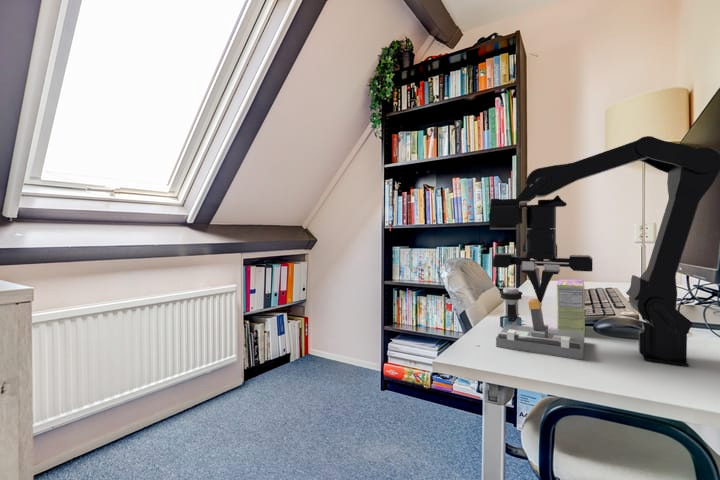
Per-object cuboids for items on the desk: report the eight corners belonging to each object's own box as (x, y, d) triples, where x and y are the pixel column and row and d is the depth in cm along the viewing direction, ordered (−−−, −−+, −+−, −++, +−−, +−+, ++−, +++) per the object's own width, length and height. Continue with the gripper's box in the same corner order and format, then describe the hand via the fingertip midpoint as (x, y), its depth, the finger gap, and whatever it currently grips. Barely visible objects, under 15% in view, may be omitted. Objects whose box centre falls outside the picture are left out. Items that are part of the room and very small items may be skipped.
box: (558, 323, 96) (558, 278, 96) (584, 326, 93) (584, 279, 93) (556, 334, 87) (556, 284, 87) (584, 337, 84) (584, 286, 84)
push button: (519, 323, 97) (519, 286, 96) (531, 329, 91) (531, 289, 91) (496, 325, 96) (495, 287, 95) (506, 331, 90) (506, 290, 90)
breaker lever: (546, 330, 80) (540, 298, 80) (543, 335, 77) (538, 301, 77) (535, 330, 81) (530, 298, 81) (533, 335, 78) (528, 302, 78)
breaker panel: (584, 342, 81) (584, 325, 80) (582, 360, 70) (582, 340, 70) (507, 332, 89) (507, 316, 89) (495, 347, 79) (495, 329, 79)
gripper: (592, 228, 80) (592, 299, 80) (502, 228, 90) (502, 292, 90) (592, 228, 70) (592, 309, 71) (491, 229, 80) (491, 300, 81)
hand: (540, 301), depth 79 cm, fingers closed, pressing on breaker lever
